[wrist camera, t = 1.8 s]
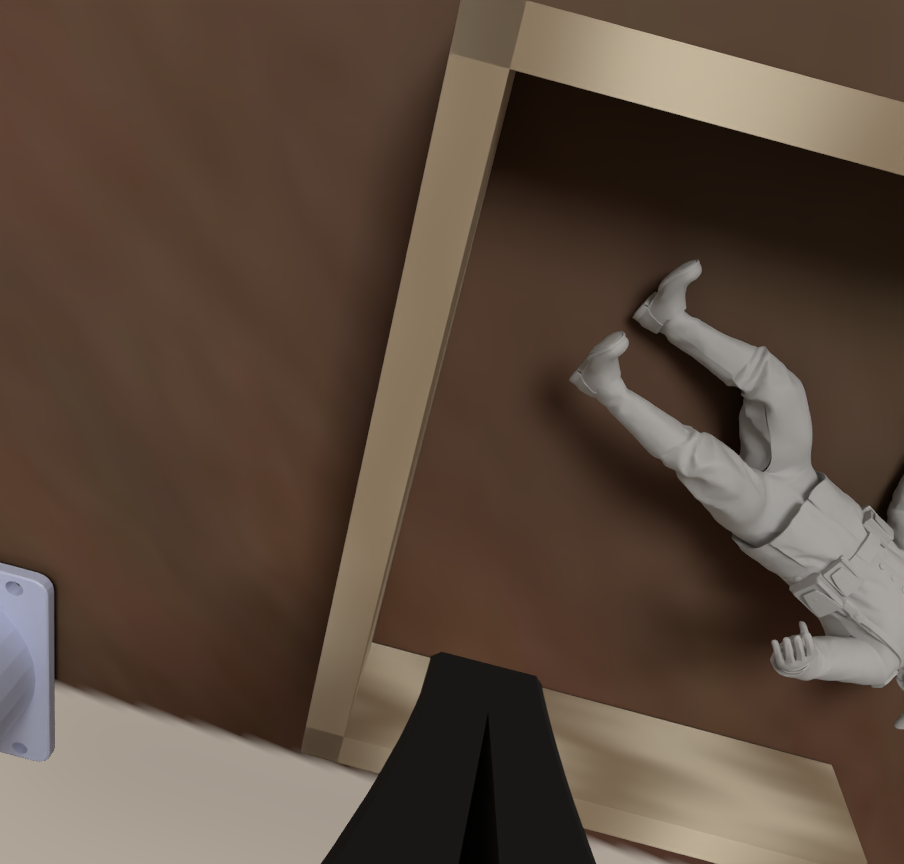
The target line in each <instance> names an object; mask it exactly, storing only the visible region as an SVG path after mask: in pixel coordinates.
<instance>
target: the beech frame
mask: <svg viewBox="0 0 904 864" xmlns="http://www.w3.org/2000/svg"><path fill="white" fill-rule="evenodd" d="M516 71H519V72H523V73H526V74H530V75H534V76H537V77H541V78H545V79H548V80H552V81H556V82H560V83H563V84H567V85H571V86H574V87H578V88H582V89H585V90H589V91H593V92H597V93H600V94H604V95H608V96H611V97H615V98H619V99H622V100H626V101H630V102H633V103H637V104H641V105H645V106H648V107H652V108H656V109H659V110H663V111H667V112H670V113H674V114H678V115H682V116H685V117H689V118H693V119H696V120H700V121H704V122H707V123H711V124H715V125H719V126H722V127H726V128H730V129H733V130H737V131H741V132H744V133H748V134H752V135H755V136H759V137H763V138H767V139H770V140H774V141H778V142H781V143H785V144H789V145H792V146H796V147H800V148H804V149H807V150H811V151H815V152H818V153H822V154H826V155H829V156H833V157H837V158H841V159H844V160H848V161H852V162H855V163H859V164H863V165H866V166H870V167H874V168H877V169H881V170H885V171H889V172H892V173H896V174H900V175H903V176H904V103H903V102H900V101H896V100H892V99H889V98H885V97H881V96H877V95H874V94H870V93H866V92H863V91H859V90H855V89H852V88H848V87H844V86H841V85H837V84H833V83H829V82H826V81H822V80H818V79H815V78H811V77H807V76H804V75H800V74H796V73H793V72H789V71H785V70H782V69H778V68H774V67H770V66H767V65H763V64H759V63H756V62H752V61H748V60H745V59H741V58H737V57H734V56H730V55H726V54H722V53H719V52H715V51H711V50H708V49H704V48H700V47H697V46H693V45H689V44H686V43H682V42H678V41H674V40H671V39H667V38H663V37H660V36H656V35H652V34H649V33H645V32H641V31H638V30H634V29H630V28H627V27H623V26H619V25H615V24H612V23H608V22H604V21H601V20H597V19H593V18H590V17H586V16H582V15H579V14H575V13H571V12H567V11H564V10H560V9H556V8H553V7H549V6H545V5H542V4H538V3H534V2H531V1H527V0H461V2H460V7H459V11H458V16H457V21H456V25H455V30H454V35H453V39H452V44H451V49H450V53H449V58H448V63H447V68H446V72H445V77H444V82H443V86H442V91H441V96H440V100H439V105H438V110H437V114H436V119H435V124H434V128H433V133H432V138H431V142H430V147H429V152H428V157H427V161H426V166H425V171H424V175H423V180H422V185H421V189H420V194H419V199H418V203H417V208H416V213H415V217H414V222H413V227H412V231H411V236H410V241H409V246H408V250H407V255H406V260H405V264H404V269H403V274H402V278H401V283H400V288H399V292H398V297H397V302H396V306H395V311H394V316H393V320H392V325H391V330H390V335H389V339H388V344H387V349H386V353H385V358H384V363H383V367H382V372H381V377H380V381H379V386H378V391H377V395H376V400H375V405H374V409H373V414H372V419H371V424H370V428H369V433H368V438H367V442H366V447H365V452H364V456H363V461H362V466H361V470H360V475H359V480H358V484H357V489H356V494H355V498H354V503H353V508H352V513H351V517H350V522H349V527H348V531H347V536H346V541H345V545H344V550H343V555H342V559H341V564H340V569H339V573H338V578H337V583H336V588H335V592H334V597H333V602H332V606H331V611H330V616H329V620H328V625H327V630H326V634H325V639H324V644H323V648H322V653H321V658H320V662H319V667H318V672H317V677H316V681H315V686H314V691H313V695H312V700H311V705H310V709H309V714H308V719H307V723H306V728H305V733H304V737H303V742H302V747H301V751H300V753H304V754H308V755H311V756H315V757H319V758H323V759H326V760H330V761H334V762H338V763H341V764H345V765H349V766H353V767H356V768H360V769H364V770H368V771H371V772H375V773H380V772H381V770H382V768H383V766H384V764H385V763H386V761H387V759H388V757H389V756H390V754H391V752H392V750H393V748H394V747H395V745H396V743H397V741H398V740H399V738H400V736H401V734H402V732H403V730H404V728H405V726H406V724H407V722H408V720H409V717H410V715H411V713H412V711H413V709H414V707H415V705H416V702H417V700H418V698H419V695H420V692H421V689H422V686H423V682H424V679H425V675H426V672H427V668H428V665H429V662H430V658H429V657H425V656H421V655H418V654H414V653H410V652H406V651H403V650H399V649H395V648H391V647H388V646H384V645H380V644H376V643H373V642H372V640H373V636H374V632H375V628H376V625H377V621H378V617H379V613H380V609H381V605H382V601H383V597H384V593H385V589H386V585H387V581H388V577H389V573H390V569H391V565H392V561H393V557H394V553H395V549H396V545H397V541H398V537H399V533H400V529H401V525H402V521H403V518H404V514H405V510H406V506H407V502H408V498H409V494H410V490H411V486H412V482H413V478H414V474H415V470H416V466H417V462H418V458H419V454H420V450H421V446H422V442H423V438H424V434H425V430H426V426H427V422H428V418H429V414H430V411H431V407H432V403H433V399H434V395H435V391H436V387H437V383H438V379H439V375H440V371H441V367H442V363H443V359H444V355H445V351H446V347H447V343H448V339H449V335H450V331H451V327H452V323H453V319H454V315H455V311H456V308H457V304H458V300H459V296H460V292H461V288H462V284H463V280H464V276H465V272H466V268H467V264H468V260H469V256H470V252H471V248H472V244H473V240H474V236H475V232H476V228H477V224H478V220H479V216H480V212H481V208H482V204H483V201H484V197H485V193H486V189H487V185H488V181H489V177H490V173H491V169H492V165H493V161H494V157H495V153H496V149H497V145H498V141H499V137H500V133H501V129H502V125H503V121H504V117H505V113H506V109H507V105H508V101H509V97H510V94H511V90H512V86H513V82H514V78H515V74H516ZM542 689H543V693H544V698H545V702H546V707H547V711H548V715H549V719H550V723H551V727H552V730H553V734H554V738H555V741H556V745H557V748H558V752H559V755H560V758H561V762H562V765H563V768H564V772H565V775H566V778H567V782H568V785H569V788H570V791H571V794H572V797H573V800H574V803H575V806H576V809H577V812H578V814H579V817H580V820H581V823H582V826H583V828H586V829H589V830H593V831H597V832H601V833H604V834H608V835H612V836H616V837H619V838H623V839H627V840H631V841H634V842H638V843H642V844H646V845H649V846H653V847H657V848H661V849H664V850H668V851H672V852H676V853H679V854H683V855H687V856H691V857H694V858H698V859H702V860H706V861H709V862H713V863H717V864H867V861H866V858H865V855H864V853H863V850H862V847H861V844H860V842H859V839H858V836H857V833H856V831H855V828H854V825H853V822H852V820H851V817H850V814H849V811H848V809H847V806H846V803H845V800H844V798H843V795H842V792H841V789H840V786H839V784H838V781H837V778H836V775H835V773H834V770H833V767H832V765H830V764H826V763H822V762H818V761H815V760H811V759H807V758H803V757H800V756H796V755H792V754H788V753H785V752H781V751H777V750H773V749H770V748H766V747H762V746H758V745H755V744H751V743H747V742H743V741H740V740H736V739H732V738H728V737H725V736H721V735H717V734H713V733H710V732H706V731H702V730H699V729H695V728H691V727H687V726H684V725H680V724H676V723H672V722H669V721H665V720H661V719H657V718H654V717H650V716H646V715H642V714H639V713H635V712H631V711H627V710H624V709H620V708H616V707H612V706H609V705H605V704H601V703H597V702H594V701H590V700H586V699H582V698H579V697H575V696H571V695H567V694H564V693H560V692H556V691H552V690H549V689H545V688H542Z"/></svg>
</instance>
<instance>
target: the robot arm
mask: <svg viewBox="0 0 904 864" xmlns="http://www.w3.org/2000/svg"><path fill="white" fill-rule="evenodd" d="M17 583H18V584H19V585H20V586H19V585H18V584H17ZM54 721H55V720H54V588H53V584H52V583H51V581H50V580H49V579H48V578H47V577H46V576H44V575H42V574H40V573H37V572H33V571H30V570H26V569H22V568H18V567H15V566H11V565H7V564H3V563H0V752H3V753H7V754H10V755H14V756H18V757H22V758H25V759H30V760H33V761H45V760H47V759H48V758H49V757H50V755H51V754H52V752H53V751H54V747H55V745H54V744H55V727H54V726H55V722H54ZM321 864H596V862H595V859H594V857H593V854H592V851H591V848H590V846H589V843H588V840H587V837H586V834H585V831H584V829H583V826H582V823H581V820H580V817H579V814H578V812H577V809H576V806H575V803H574V800H573V797H572V794H571V791H570V788H569V785H568V782H567V778H566V775H565V772H564V768H563V765H562V762H561V758H560V755H559V752H558V748H557V745H556V741H555V738H554V734H553V730H552V727H551V723H550V719H549V715H548V711H547V707H546V702H545V698H544V693H543V689H542V685H541V683H540V682H539V680H538V678H537V677H536V676H533V675H530V674H526V673H522V672H518V671H514V670H510V669H506V668H502V667H499V666H495V665H491V664H487V663H483V662H479V661H475V660H471V659H467V658H464V657H460V656H456V655H452V654H448V653H444V652H440V653H438V654H436V655H433V656H431V658H430V662H429V665H428V668H427V672H426V675H425V679H424V682H423V686H422V689H421V692H420V695H419V698H418V700H417V702H416V705H415V707H414V709H413V711H412V713H411V715H410V717H409V720H408V722H407V724H406V726H405V728H404V730H403V732H402V734H401V736H400V738H399V740H398V741H397V743H396V745H395V747H394V748H393V750H392V752H391V754H390V756H389V757H388V759H387V761H386V763H385V764H384V766H383V768H382V770H381V772H380V773H379V775H378V777H377V779H376V780H375V782H374V784H373V785H372V787H371V789H370V790H369V792H368V794H367V795H366V797H365V798H364V800H363V801H362V803H361V804H360V806H359V808H358V809H357V811H356V812H355V814H354V815H353V817H352V818H351V820H350V821H349V823H348V824H347V826H346V827H345V829H344V830H343V832H342V833H341V835H340V836H339V838H338V840H337V841H336V843H335V844H334V846H333V847H332V849H331V850H330V852H329V853H328V854H327V856H326V857H325V859H324V860H323V861H322V863H321Z"/></svg>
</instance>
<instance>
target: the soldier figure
mask: <svg viewBox="0 0 904 864" xmlns="http://www.w3.org/2000/svg"><path fill="white" fill-rule="evenodd" d="M701 272H702V268H701V265H700V262H699V260H698V259H697V260H692V261H689V262H686V263H684V264H682V265H680V266H679V267H677V268H676V269H675V270H674V271H672V272H671V273H670V274H669V275H667V276H666V277H665V278H664V279H663V280H662V281H661V283H660V285H659V288H658V289H659V290H658V291H657V292H654V293H653V294H652V295H650V296H649V297H648V298H647V299H646V300H645V301H644V302H643V303H642V305H641V306H640V307H639V308H638V310H637V311H636V312H635V313H634V316H633V317H632V318H633V319H635V320H636V321H638V322H639V323H640V324H641V326H642V327H644V328H646V329H648V330H650V331H651V332H653V333H656V334H657V333H658V332H660V333H663V334H664V335H666V337H667V339H668V341H669V342H670V343H672V344H673V345H675V346H676V347H678V348H679V349H681V350H682V351H684V352H685V353H687V354H689V355H690V356H692V357H693V358H695V359H696V360H697V361H698V362H699V363H700V364H702V365H703V366H705V367H706V368H707V369H708V370H709V371H710V372H712V373H713V374H714V375H716V376H717V377H718V378H719V379H720V380H722V381H723V382H724V383H725V384H726V385H727V386H735V387H738V388H740V389H741V390H742V391H741V396H743V397H744V399H743V406H742V408H741V410H740V414H739V436H740V441H741V450H740V455H738V454H736V453H735V452H734V451H733V450H732V449H730V448H729V447H728V446H727V445H725V444H724V443H723V442H721V441H720V440H718V439H716V438H715V437H714V436H712V435H710V434H709V433H705V432H702V433H699V432H698V431H697V430H695V429H693V428H692V427H691V426H687V425H682V424H681V423H680V422H679V421H678V420H676V419H675V418H673V417H671V416H670V415H668V414H667V413H665V412H663V411H662V410H660V409H659V408H657V407H656V406H654V405H653V404H651V403H650V402H649V401H647V400H646V399H644V398H642V397H641V396H639V395H637V394H636V393H634V392H632V391H631V390H629V389H627V388H626V386H625V384H624V382H623V380H622V379H621V377H620V375H621V372H620V368H619V362H618V356H620V355H621V354H622V353H624V352H625V350H626V349H627V347H628V345H629V341H628V339H627V338H626V337H625V333H624V332H622V331H619V332H615V333H612V334H610V335H609V336H607V337H606V338H604V339H603V340H602V341H601V342H600V343H599V344H598V345H597V346H595V347H594V348H593V349H592V350H591V351H590V352H589V354H588V355H587V358H586V359H585V360H584V361H583V362H582V363H581V365H580V366H579V367H578V368H577V369H576V371H575V372H574V373H573V374H572V375H571V376H570V379H569V381H570V382H572V383H573V384H575V385H576V386H577V388H578V389H579V390H580V391H582V392H584V393H585V394H587V395H589V396H590V397H596V399H597V400H598V401H599V402H600V403H602V404H603V405H604V406H606V407H607V408H608V410H609V412H610V413H611V414H612V415H613V416H614V417H615V418H617V420H618V421H619V422H620V423H621V424H622V425H623V426H624V427H625V428H626V429H627V430H628V431H629V432H630V433H631V434H632V435H633V436H634V437H635V438H636V439H637V440H638V441H639V442H640V444H641V445H642V446H643V447H644V448H645V449H646V450H647V451H648V452H649V453H650V454H651V455H652V456H654V457H656V458H658V459H661V460H662V462H663V464H664V465H665V466H666V467H668V468H671V469H673V470H675V471H676V474H677V477H678V479H679V480H680V481H681V482H682V483H683V484H684V485H685V486H686V487H687V488H688V490H689V491H690V492H691V493H692V495H693V496H694V497H695V498H696V499H697V500H699V501H700V502H701V503H702V504H703V506H704V507H705V508H706V509H707V510H708V511H709V512H710V513H711V515H712V516H713V518H714V519H715V520H716V521H717V522H718V523H719V524H721V525H722V526H723V527H725V528H726V529H728V530H729V531H731V532H732V537H731V538H732V539H733V540H734V541H735V542H736V543H737V545H738V546H739V547H740V549H741V550H742V551H743V552H744V553H745V554H747V555H748V556H750V557H751V558H752V559H754V560H756V561H757V562H758V563H760V564H761V565H762V566H764V567H765V568H766V569H768V570H769V571H771V572H773V573H775V574H777V575H778V576H780V577H781V578H782V579H783V580H784V581H785V582H786V583H787V584H788V585H789V586H790V587H789V590H790V591H791V592H792V593H793V595H794V596H795V597H796V598H797V599H798V600H799V601H801V602H802V603H803V604H804V605H805V606H806V607H807V608H808V609H809V610H810V611H811V612H812V613H813V614H814V615H815V616H816V617H818V619H819V621H820V622H821V624H822V627H823V629H824V631H825V634H826V635H825V636H813V637H812V636H811V634H810V633H809V631H808V629H807V626H806V624H805V622H802V621H800V622H799V628H800V634H799V635H792V636H790V637H784V639H783V642H781V643H780V644H779V643H778V641H777V640H773V641H772V647H773V651H774V652H773V654H772V656H771V658H770V661H771V664H772V666H773V667H774V669H775V670H776V671H777V672H778V673H779V674H780V675H783V676H786V677H791V678H796V679H800V680H806V681H807V680H811V679H820V680H827V681H836V680H837V681H840V682H850V683H856V684H861V685H871V686H872V687H873V688H882V687H883V686H885V685H886V684H888V683H889V682H890V681H891V680H892V678H893V677H894V678H896V677H895V676H896V675H897V678H896V679H897V683H898V685H899V686H900V688H901V689H902V690H903V691H904V475H903V476H902V478H901V479H900V481H899V484H898V486H897V488H896V489H895V491H894V493H893V496H892V501H891V502H890V504H889V507H888V510H887V517H888V519H887V523H886V522H885V521H884V520H882V519H881V518H880V517H879V516H878V515H877V513H876V512H875V511H874V510H873V509H872V508H871V507H870V506H859V505H858V504H857V503H856V502H855V501H854V500H853V499H852V498H851V497H850V496H848V495H847V494H845V493H844V492H842V491H841V490H840V489H839V488H838V487H837V486H836V485H835V484H834V483H832V482H831V481H830V480H829V479H828V478H827V476H826V475H825V474H824V473H821V472H818V471H815V470H814V469H813V467H812V465H811V447H812V422H811V417H810V412H809V407H808V402H807V398H806V394H805V390H804V387H803V385H802V383H801V381H800V380H799V379H798V378H797V377H796V376H795V375H794V374H793V373H792V372H791V371H789V370H788V369H786V367H785V366H784V364H783V363H782V362H780V361H779V360H778V359H777V358H776V357H775V356H774V355H772V354H771V353H770V352H769V351H768V350H767V348H766V347H765V346H762V347H756V346H752V345H750V344H747V343H745V342H742V341H740V340H737V339H735V338H732V337H729V336H727V335H725V334H723V333H721V332H719V331H717V330H716V329H714V328H712V327H711V326H709V325H707V324H706V323H704V322H702V321H701V320H699V319H698V318H694V317H691V316H690V315H688V314H687V313H686V312H685V311H684V310H685V309H686V301H685V293H686V289H687V286H688V284H690V283H691V282H692V281H694V280H696V279H697V278H698V277H699V276H700V274H701ZM644 305H647V307H646V306H644ZM771 452H772V459H771ZM770 459H771V463H770V465H769V467H768V468H767V469H766V470H765V471H764V472H761V471H763V470H764V469H765V468H766V467H767V466H768V464H769V462H770ZM899 669H900V670H899ZM897 670H899V672H898V671H897ZM894 726H895V727H896V728H898V729H904V711H903V713H902V714H901V716H900V717H899V718H898V719H897V721H896V722H895V724H894Z"/></svg>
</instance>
